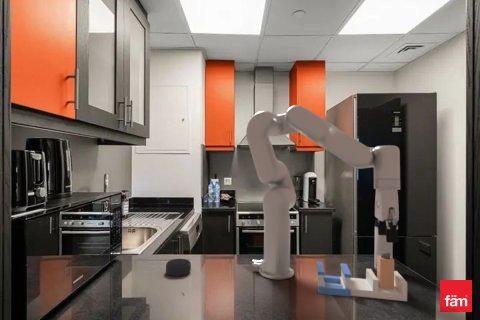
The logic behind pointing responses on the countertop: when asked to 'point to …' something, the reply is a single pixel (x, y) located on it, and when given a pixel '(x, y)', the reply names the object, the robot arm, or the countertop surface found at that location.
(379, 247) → the travel mug
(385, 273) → the cord plug
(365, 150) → the robot arm
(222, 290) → the countertop surface
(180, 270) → the smart speaker
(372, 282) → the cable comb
